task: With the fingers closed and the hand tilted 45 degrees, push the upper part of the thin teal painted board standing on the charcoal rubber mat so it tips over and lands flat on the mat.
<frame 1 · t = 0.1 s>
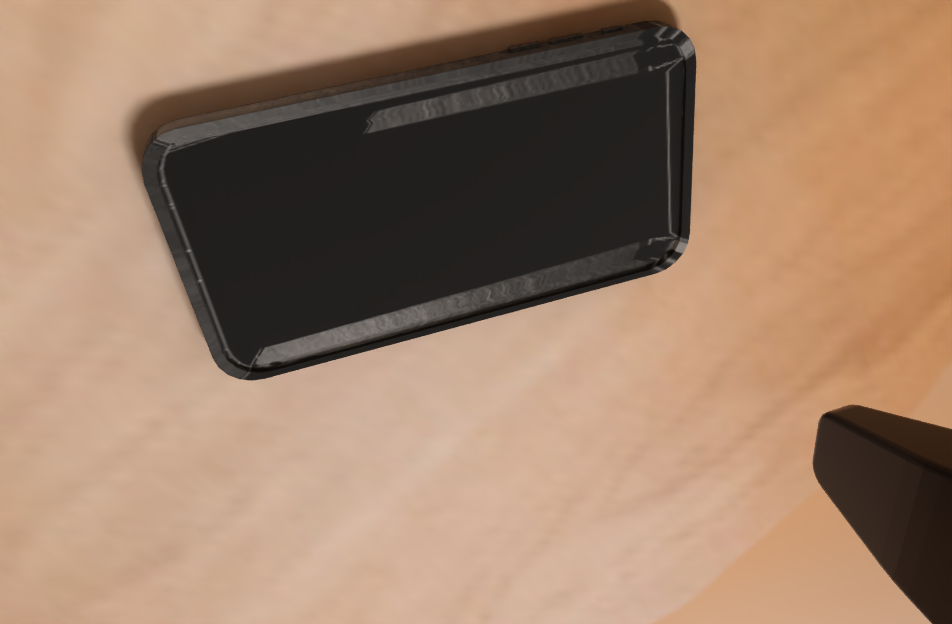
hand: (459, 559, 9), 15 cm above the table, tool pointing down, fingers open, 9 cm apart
phone: (440, 192, 23), on the table
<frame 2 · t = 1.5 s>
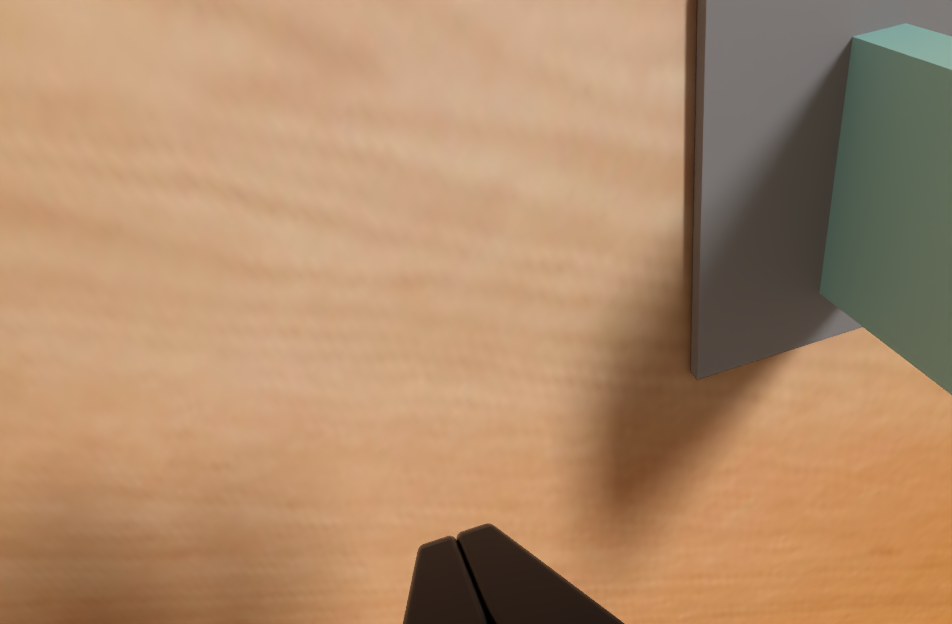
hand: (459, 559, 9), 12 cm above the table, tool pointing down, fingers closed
teal board: (858, 171, 22), resting on mat
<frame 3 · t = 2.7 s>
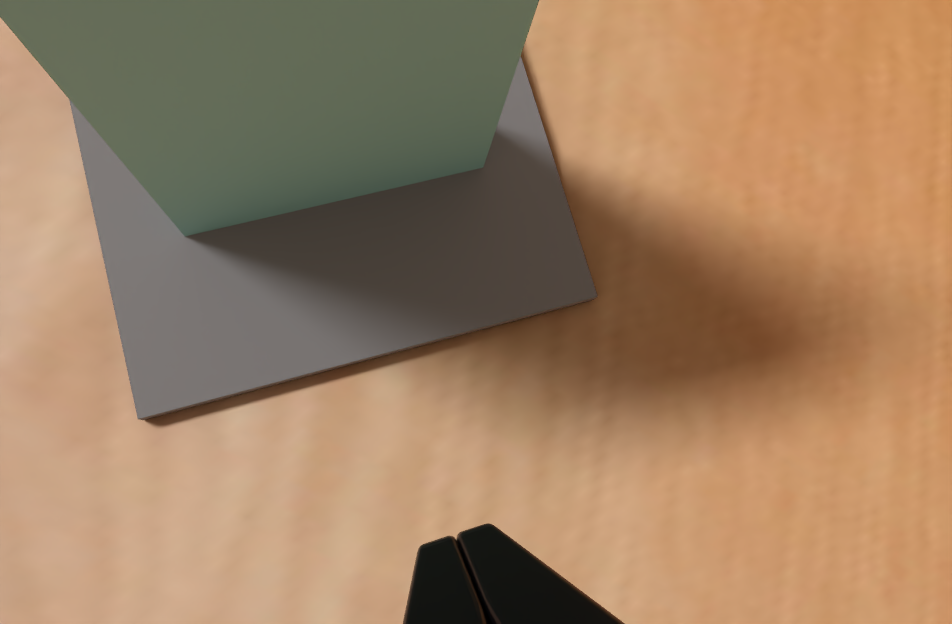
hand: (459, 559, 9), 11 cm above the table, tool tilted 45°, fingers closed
mat: (296, 47, 22), on the table
teal board: (331, 172, 21), resting on mat
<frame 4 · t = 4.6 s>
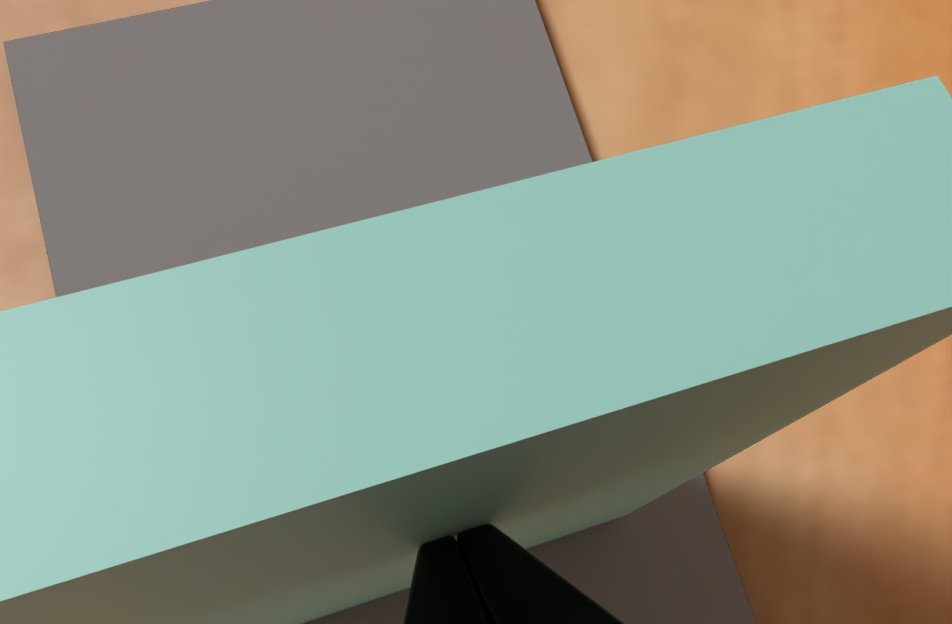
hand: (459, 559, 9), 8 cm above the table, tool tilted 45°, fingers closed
mat: (376, 356, 17), on the table
teal board: (429, 537, 16), point 1 cm above the table, tilted 9°, touching mat
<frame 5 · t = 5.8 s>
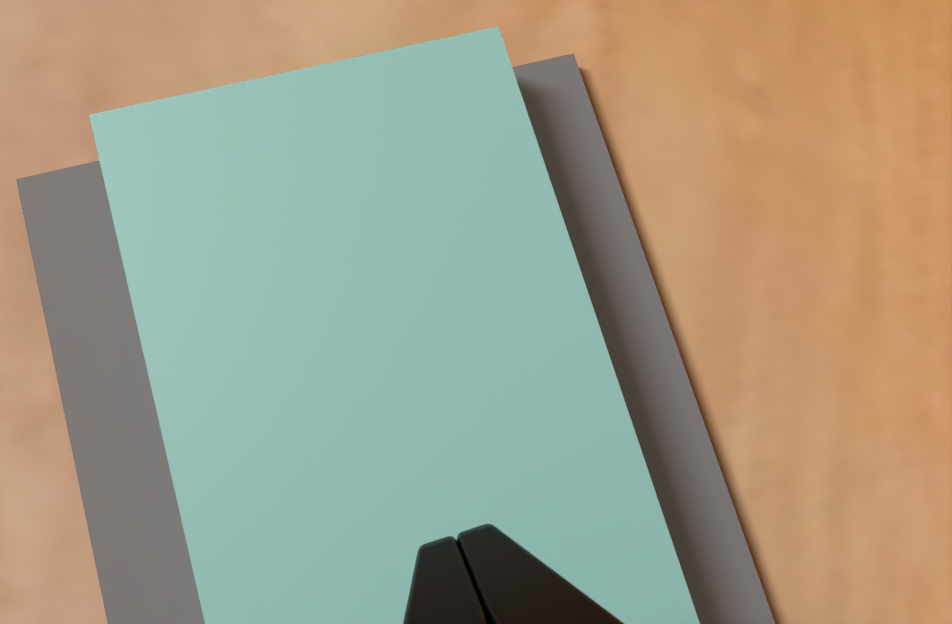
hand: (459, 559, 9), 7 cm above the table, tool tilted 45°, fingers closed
mat: (428, 529, 15), on the table
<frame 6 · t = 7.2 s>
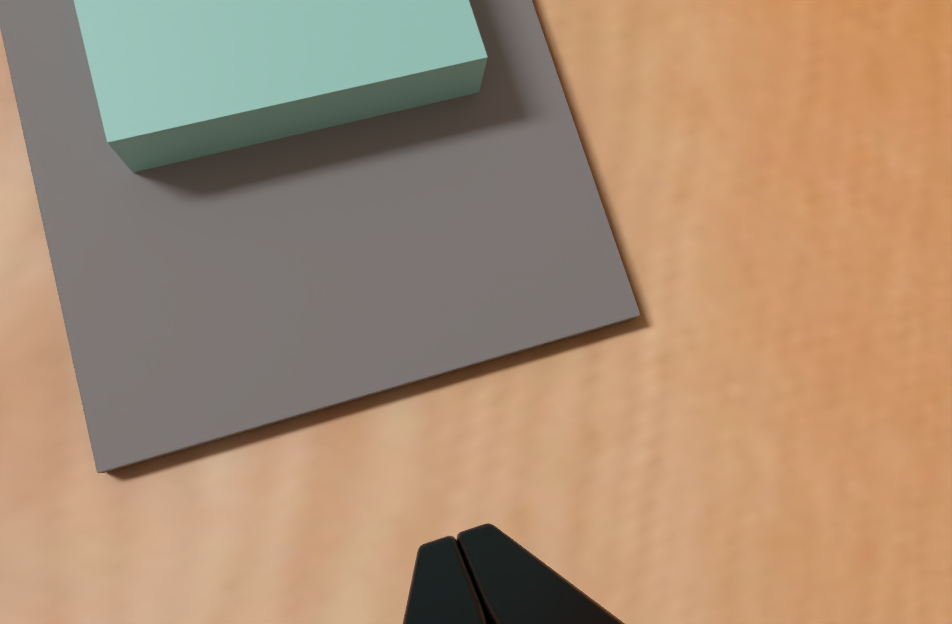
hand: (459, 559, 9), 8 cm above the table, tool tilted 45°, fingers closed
mat: (282, 29, 19), on the table
teal board: (308, 115, 17), point 1 cm above the table, tilted 90°, touching mat
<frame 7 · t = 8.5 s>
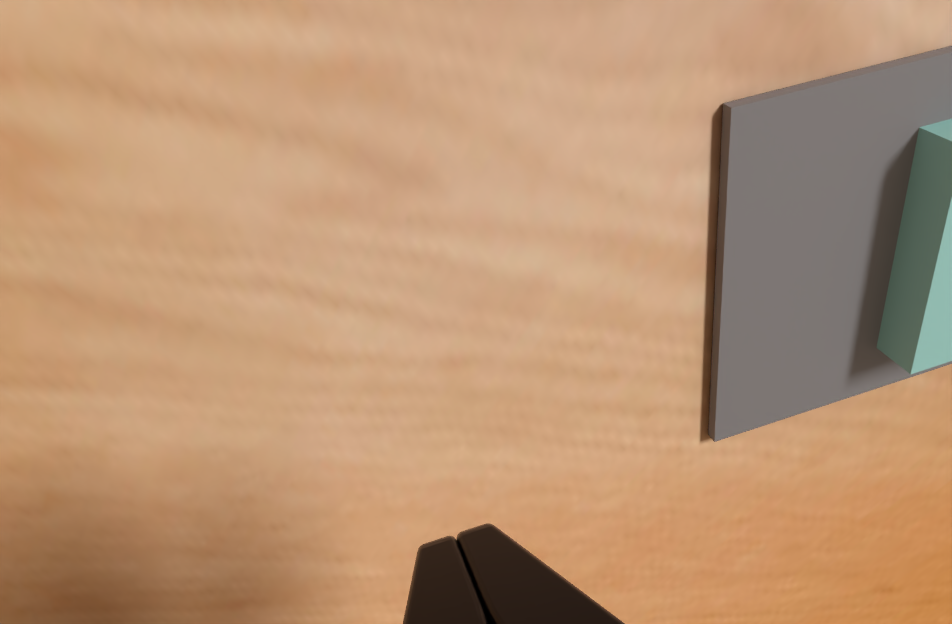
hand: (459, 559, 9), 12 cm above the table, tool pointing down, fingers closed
teal board: (914, 259, 24), point 1 cm above the table, tilted 90°, touching mat
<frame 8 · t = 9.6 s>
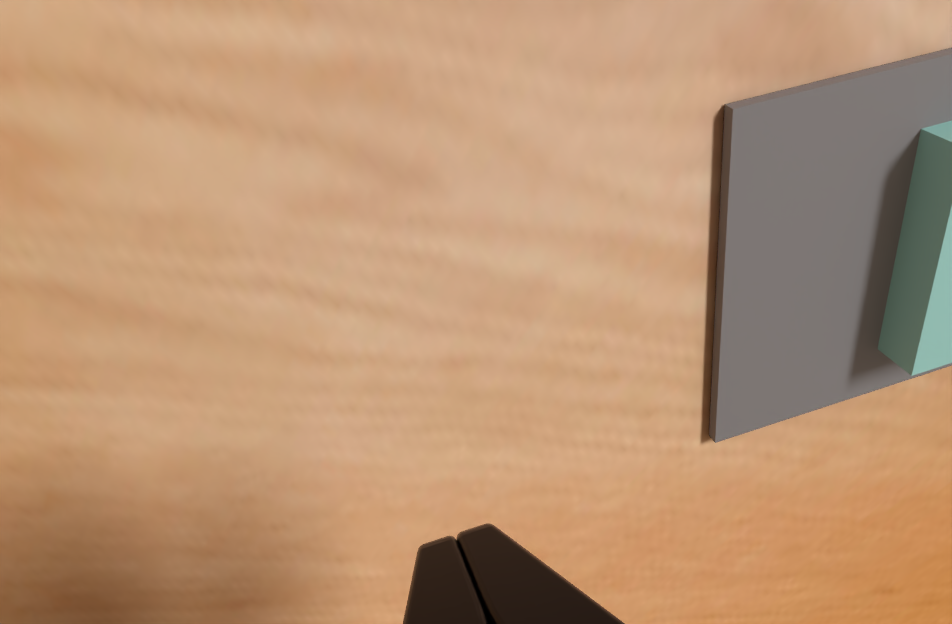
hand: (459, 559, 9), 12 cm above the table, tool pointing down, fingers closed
teal board: (916, 260, 24), point 1 cm above the table, tilted 90°, touching mat
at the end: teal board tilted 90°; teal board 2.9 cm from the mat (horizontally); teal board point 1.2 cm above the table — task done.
